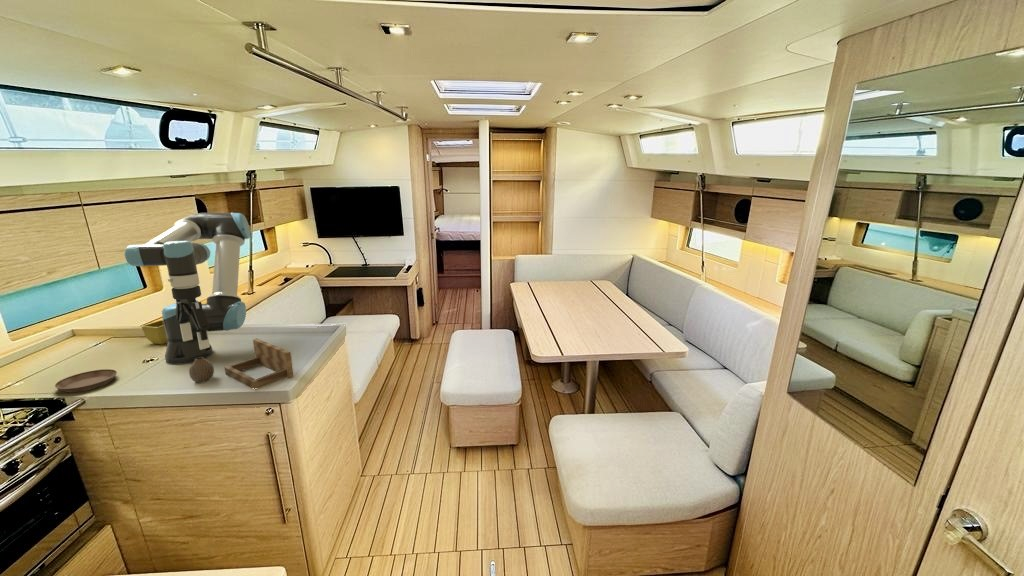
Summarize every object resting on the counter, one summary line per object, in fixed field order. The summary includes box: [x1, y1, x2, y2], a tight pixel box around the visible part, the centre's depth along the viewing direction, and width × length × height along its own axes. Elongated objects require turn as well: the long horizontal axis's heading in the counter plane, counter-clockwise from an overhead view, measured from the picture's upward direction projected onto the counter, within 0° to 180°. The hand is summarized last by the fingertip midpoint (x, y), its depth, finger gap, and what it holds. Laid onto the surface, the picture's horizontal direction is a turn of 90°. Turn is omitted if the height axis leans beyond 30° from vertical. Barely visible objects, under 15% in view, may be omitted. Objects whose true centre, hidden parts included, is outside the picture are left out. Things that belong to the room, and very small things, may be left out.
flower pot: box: [140, 319, 168, 345], centre depth 171 cm, size 9×9×9 cm
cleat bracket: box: [224, 338, 294, 390], centre depth 143 cm, size 24×13×10 cm, turn 59°
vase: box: [188, 357, 215, 384], centre depth 138 cm, size 7×7×9 cm
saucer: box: [54, 368, 118, 393], centre depth 134 cm, size 15×15×3 cm
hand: (196, 344), depth 135 cm, fingers open, 13 cm apart
